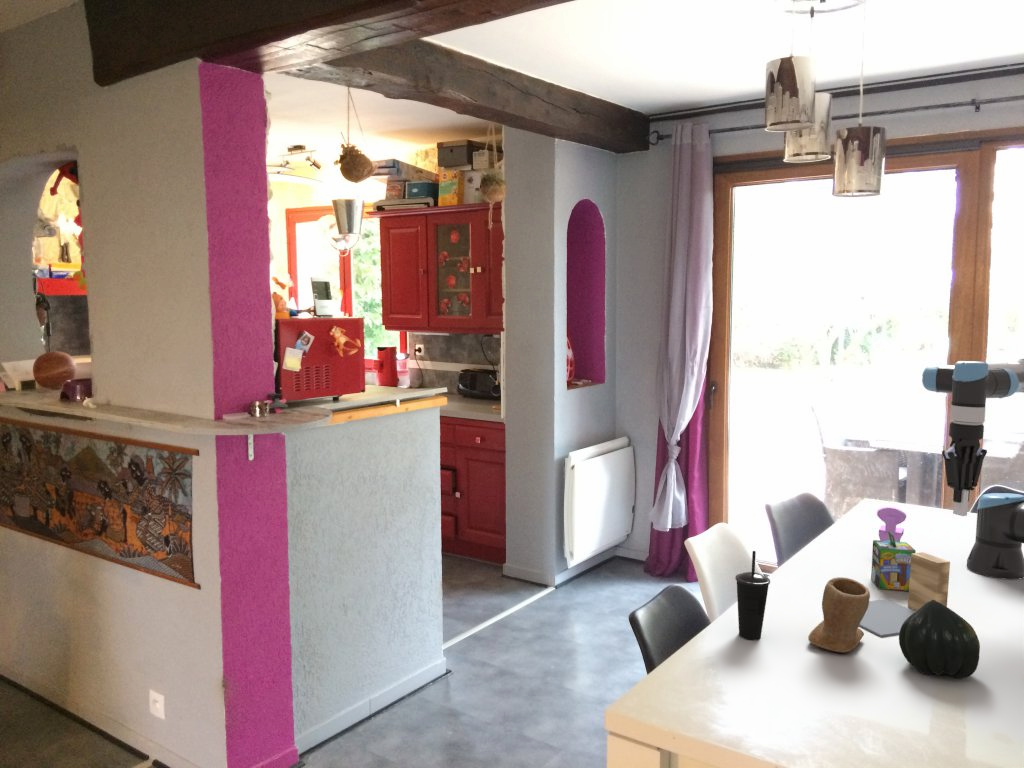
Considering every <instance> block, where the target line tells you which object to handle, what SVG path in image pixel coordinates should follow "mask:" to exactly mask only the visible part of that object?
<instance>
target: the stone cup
mask: <svg viewBox="0 0 1024 768" xmlns="http://www.w3.org/2000/svg"><path fill="white" fill-rule="evenodd" d="M825 584H826V585H825V587H824V589H823V595H822V601H821V609H822V615H823V620H821V622H819V623H818V625H816V626H815V627H814V629H812V630H811V631H810V633H809V635H808V641H809V642H810V643H811V644H813V646H816V647H818V648H821V649H824V650H827V651H831V652H836V653H847V652H848V653H849V652H850V651H852V650H854V648H856V647H857V645H858V644H859V643H860V641H861V640H862V639H863V637H864V635H865V633H864V631H863V630H862V629H861V628H860V626H859V624H860V622H861V620H862V619H863V617H864V615H865V613H866V611H867V609H868V605H869V601H870V598H871V593H870V591H869V589H868V588H867V587H866V585H864V584H863V583H861V582H859V581H858V580H855V579H852V578H848V577H842V576H841V577H833V578H831V579H829V580H828V581H827V582H826V583H825Z"/></svg>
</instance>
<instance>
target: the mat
mask: <svg viewBox="0 0 1024 768" xmlns="http://www.w3.org/2000/svg"><path fill="white" fill-rule="evenodd" d="M914 612H916V610H914V609H912V608H910V607H906V606H905V605H902V604H899V603H897V602H894V601H892V600H890V599H888V598H882V599H876V600H869V605H868V609H867V611H866V613H865V615H864V617H863V619H862V620H861V622H860V624H859V626H858V627H859V628H862V629H864V630H866V631H868V632H870V633H872V634H874V635H876V636H878V637H880V638H884V637H889V636H895V635H899V633H900V629H901V626H902V625H903V623H904V621H905V620H906V619H907V618H908V617H909V616H911V615H912V614H913V613H914Z"/></svg>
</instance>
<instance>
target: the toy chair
mask: <svg viewBox="0 0 1024 768" xmlns="http://www.w3.org/2000/svg"><path fill="white" fill-rule="evenodd" d="M876 516H877V517H878V518H879V519H880V520H881V521H882V522H884V524H885V525H883V524H882V525H881V526H880V528H879V529H878V537H879V540H880V541H890V538H889V534H888V531H890V532H891V533H892V534H893V536H894V540H895V541H896V542H901V538H902V537H903V535H904V530H905V529H904V528H902V527H897V525H901V524H902V523H904V521H906V520H907V519H906V518H907V514H906V513H905V512H904V511H903V510H901V509H899V508H896V507H891V506H885V507H881V508H879V509H878V510H877V512H876ZM891 538H892V537H891ZM892 541H893V539H892Z"/></svg>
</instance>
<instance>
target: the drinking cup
mask: <svg viewBox="0 0 1024 768" xmlns="http://www.w3.org/2000/svg"><path fill="white" fill-rule="evenodd" d="M751 553H752V555H751V556H752V557H751V571H745V572H741V573H738V574H736V575H735V577H734V578H735V581H736V593H737V598H736V599H737V616H738V619H737V620H738V635H739V637H741V638H742V639H744V640H749V641H758V640H761V637H762V632H763V624H764V618H765V612H766V605H767V598H768V591H769V585H771V579H770V578H769V577H768V576H765V575H763V573H759V572H756V570H755V569H756V551H755V550H752V552H751Z"/></svg>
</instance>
